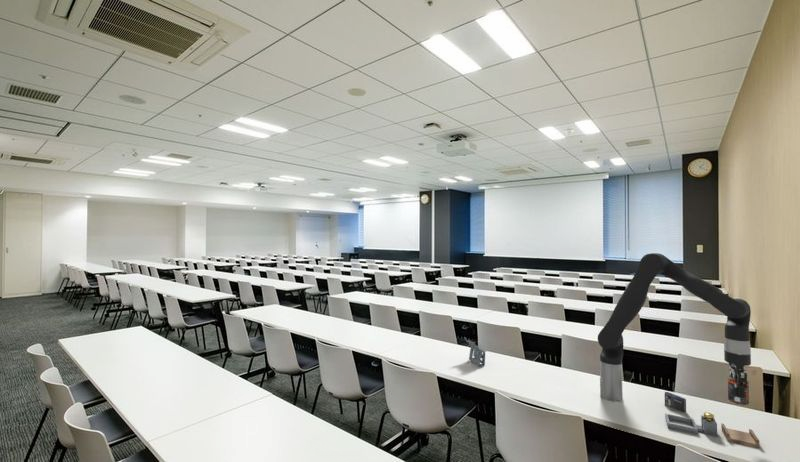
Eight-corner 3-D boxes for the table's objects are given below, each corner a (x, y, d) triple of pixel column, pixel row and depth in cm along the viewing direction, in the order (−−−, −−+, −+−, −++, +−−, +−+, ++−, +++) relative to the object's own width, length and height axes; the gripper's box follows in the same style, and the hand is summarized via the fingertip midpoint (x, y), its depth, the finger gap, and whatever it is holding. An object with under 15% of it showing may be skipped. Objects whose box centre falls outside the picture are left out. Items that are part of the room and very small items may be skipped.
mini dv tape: (664, 405, 166) (664, 392, 167) (666, 404, 167) (666, 391, 167) (684, 413, 159) (683, 399, 159) (686, 412, 159) (685, 398, 159)
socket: (667, 428, 146) (667, 415, 146) (665, 418, 154) (664, 406, 154) (718, 439, 138) (718, 426, 138) (713, 428, 146) (712, 415, 146)
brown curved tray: (727, 440, 137) (726, 433, 137) (721, 430, 144) (721, 423, 144) (759, 448, 132) (759, 440, 132) (751, 436, 140) (751, 429, 140)
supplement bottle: (742, 406, 135) (741, 376, 135) (724, 399, 141) (723, 370, 141) (753, 404, 136) (752, 374, 137) (734, 397, 142) (734, 369, 142)
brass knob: (704, 430, 142) (704, 414, 142) (703, 427, 145) (702, 411, 145) (715, 432, 141) (714, 416, 141) (713, 429, 143) (713, 413, 144)
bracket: (464, 360, 228) (464, 337, 228) (477, 359, 231) (477, 335, 231) (474, 367, 215) (474, 342, 216) (488, 366, 218) (488, 341, 219)
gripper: (720, 344, 147) (721, 385, 147) (729, 354, 135) (730, 399, 134) (744, 347, 143) (745, 389, 143) (756, 357, 131) (757, 404, 131)
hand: (738, 394), depth 139 cm, fingers closed on supplement bottle, 6 cm apart
